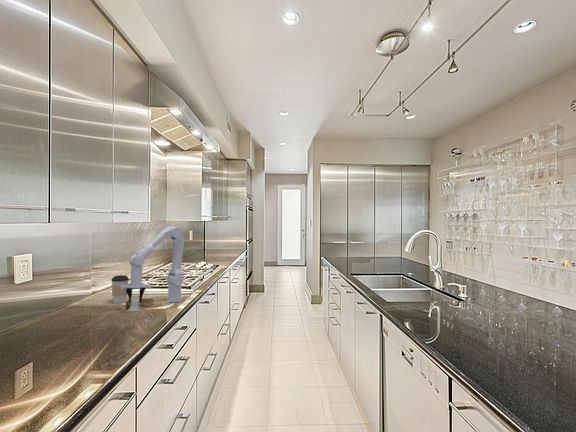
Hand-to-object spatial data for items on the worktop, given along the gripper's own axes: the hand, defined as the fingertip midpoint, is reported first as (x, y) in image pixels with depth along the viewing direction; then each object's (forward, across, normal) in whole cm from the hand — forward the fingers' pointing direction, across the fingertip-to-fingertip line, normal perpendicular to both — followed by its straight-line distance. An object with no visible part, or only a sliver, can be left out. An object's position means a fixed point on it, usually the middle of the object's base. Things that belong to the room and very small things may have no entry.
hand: (135, 302), depth 175 cm
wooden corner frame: (+3, -2, +1) cm, 3 cm away
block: (+2, 0, +4) cm, 4 cm away
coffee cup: (+3, +10, -15) cm, 19 cm away
